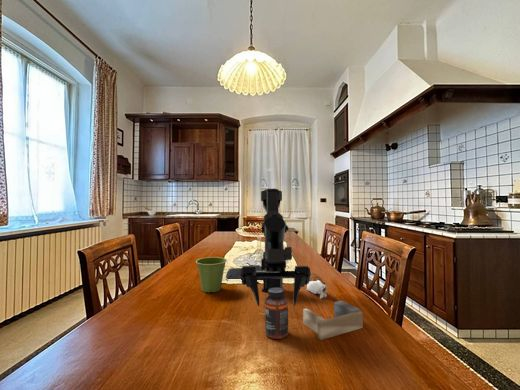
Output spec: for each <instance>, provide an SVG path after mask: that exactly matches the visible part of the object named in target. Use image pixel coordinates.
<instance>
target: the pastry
mask: <svg viewBox="0 0 520 390" xmlns="http://www.w3.org/2000/svg"><path fill="white" fill-rule="evenodd" d="M317 280H320V281H321V283H322V284H323V281H324V280H323V279H322V278H321V277H320V276H319V275H318V274H317V273H314V272H311V275H310V280H309V282H310V281H317Z"/></svg>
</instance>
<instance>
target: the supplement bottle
mask: <svg viewBox="0 0 520 390" xmlns="http://www.w3.org/2000/svg"><path fill="white" fill-rule="evenodd" d="M284 291H285V290H284V288H283V289H282V288H270V289H269V290H268V292H267V293H268V294H267V295H268V296H267V297H266V298H265V299H264V333H265V335H266V337H268V338H270V339H274V340H282V339H285V338H286V337H288V336H289V335H288V334H289V302H288V301H289V300H288V299H287V298H286V297H285V292H284Z"/></svg>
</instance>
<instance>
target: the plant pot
mask: <svg viewBox="0 0 520 390" xmlns="http://www.w3.org/2000/svg"><path fill="white" fill-rule="evenodd" d="M227 261H228V259H227V258H224V257H221V256H220V257H219V256H209V257H202V258H198V259H196V261H195V263H196V265H197V266H196V267H197V269H198V272H199V273H198V274H199V279H200V287H201V291H202V292H204V293H207V292H208V293H211V292H212V293H216V292H217V293H218V292H219V291H221V290H222V285H223V284H222V283H223V279H224V278H223V277H224V272H225V267H226V263H227Z"/></svg>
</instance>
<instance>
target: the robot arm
mask: <svg viewBox="0 0 520 390" xmlns="http://www.w3.org/2000/svg"><path fill="white" fill-rule="evenodd" d="M282 201H283V191H282V190H279V188H266V189H263V190H262V191H260V202H262V208H263V210H265V212H266V214H264V215H263V221H262V222H261V234H263V237H264V251H263V253H262V258H261V259H260V260H261V261H260V262H261V263H260V264H261V265H260V266H261V271H256V265H254V266H250V265H243V266H242V267H240V268H241V280H242V281H241V284H242V285H244V286H245V285H246V287H247V288H250V290H251V292H252V293H253V294H252V295H253V296H254V299H255V303H256V305H257V307H260V295H259V287H258V286H259V285H258V281H257V278H263V281H262V282H263V285H262V286H263V288H262V289H261V292H266V293H268V290H269V289H270V288H282V289H283V290H284V287H283V286H284V281H283V279H293V294H292V295H293V296H292V299H293V300H292V301H293V306H294V307H296V304H297V300H298V295H299V292H300V289H301V288H305V285H307V284H309V280H310V275H311V273H312V272H311V268H310V266H308V265H295V266H294V270H286V269H287V261H292V260H293V250H292V247H291V246H285V247H284V244H285V243H284V240H285V234H286V233H287V231H289V225H287V223H286V221H285V220H284V216H283V215H282V214H281V213H280V210H279V208H280V205H281V202H282Z"/></svg>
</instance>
